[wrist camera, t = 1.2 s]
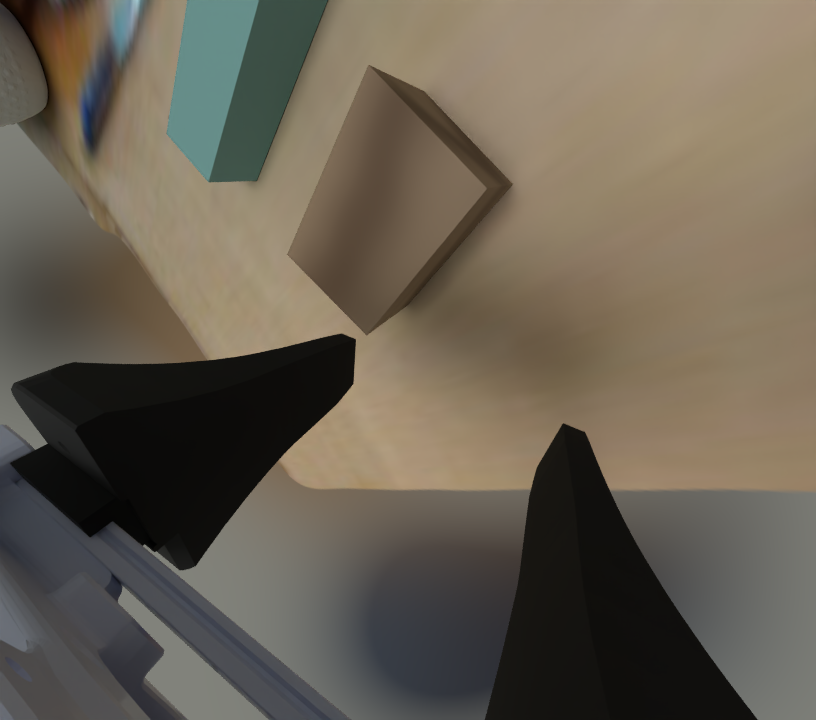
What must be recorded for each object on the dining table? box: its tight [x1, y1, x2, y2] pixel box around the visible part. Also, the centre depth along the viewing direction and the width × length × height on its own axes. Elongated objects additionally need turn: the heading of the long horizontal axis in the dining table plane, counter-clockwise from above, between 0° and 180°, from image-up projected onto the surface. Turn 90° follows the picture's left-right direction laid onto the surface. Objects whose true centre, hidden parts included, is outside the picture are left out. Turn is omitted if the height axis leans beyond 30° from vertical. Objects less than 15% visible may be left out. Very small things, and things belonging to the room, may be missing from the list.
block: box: [287, 65, 512, 335], centre depth 16 cm, size 6×9×5 cm, turn 141°
